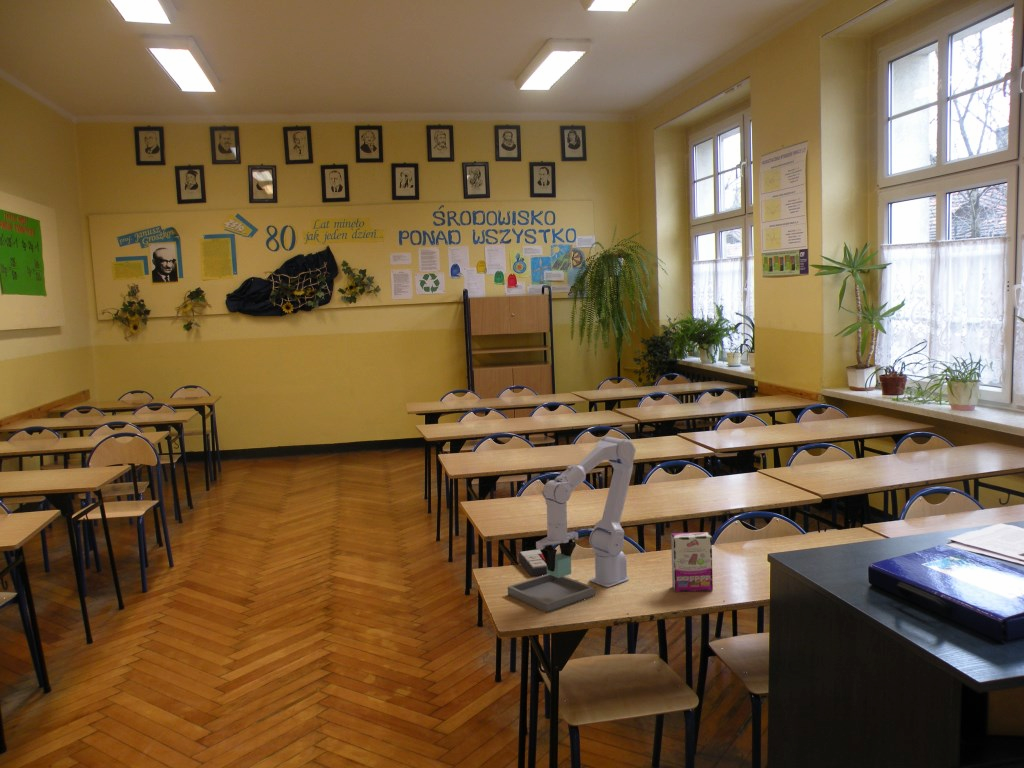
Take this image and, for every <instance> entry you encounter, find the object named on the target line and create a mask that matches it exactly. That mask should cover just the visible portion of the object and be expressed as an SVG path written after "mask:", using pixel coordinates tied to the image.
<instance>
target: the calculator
mask: <svg viewBox="0 0 1024 768" xmlns="http://www.w3.org/2000/svg"><path fill="white" fill-rule="evenodd" d="M518 564H519V565H521V566H522V567H523V568H524V570H525V571H526V572H527V573H528V574H529V576H531V577H532V578H535V577H534V576H536V577H540V576H541V575H546V574H547V565H546V561H545V559H544V556H543V554H542V552H541V551H540V550H539V549H531V550H525V551H519V552H518Z"/></svg>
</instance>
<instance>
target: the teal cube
mask: <svg viewBox="0 0 1024 768" xmlns="http://www.w3.org/2000/svg"><path fill="white" fill-rule="evenodd" d="M547 574H549V575H552V576H554V577H557V578H560V577H563V576H565V577H567V576H569V575H571V574H572V556H571V557H569V556H566V555H564V554H561V552H556V555H555V569H554V571H553V572H552V571H549V570H548V568H547Z"/></svg>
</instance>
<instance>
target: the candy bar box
mask: <svg viewBox="0 0 1024 768" xmlns="http://www.w3.org/2000/svg"><path fill="white" fill-rule="evenodd" d="M670 539H671V540H670V541H671V543H670V544H671V574H672V575H671V576H672V577H671V581H672V583H671V584H672V588H673V590H674V591H675V593H688V592H690V593H691V592H709V591H711V592H712V591H713V590H714V589H713V586H714V585H713V584H714V583H713V577H714V576H713V538H712V535H711V534H710V533H709V532H708V531H705V532H704V531H702V532H679V533H678V532H677V533H676V532H675V533H671V534H670Z"/></svg>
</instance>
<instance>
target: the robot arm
mask: <svg viewBox="0 0 1024 768" xmlns="http://www.w3.org/2000/svg"><path fill="white" fill-rule="evenodd" d="M635 454H636V447H635V446H634V444H633V442H632V441H631V440H630V439H623V438H617V437H613V436H609V435H606V436H603V437H602V438H601V439H600V440H598V441H597V443H596V447H594V448H593V449H592V450H591V451H590V452H589V454H587V455H586V457H584V458H583V460H582V461H580V462H579V464H571V465H568V466H567V467H566V469H565V470H564V471H563V472H562V473H560V474H559V475H557V476H556V477H555V479H552V480H548V481H547V482H546V483H545V484H544V485H543V489H542V490H541V494H542V497H543V498H544V500H545V501H544V502H545V505H546V525H547V526H546V528H547V529H546V530H547V534H546V535H547V536H546V537H544V538H541V539H540V540H538V541H535V547H536V548H535V549H536V550H538V549H539V550H540V551H541V552H542V554H543V556H544V559H545V561H546V565H547V568H548V570H549V571H552V572H553V571H554V569H555V555H556V554H557V553H558V552H557V551H558V550H557V549H556V548H554V547H553V546H556V545H558V546H559V550H560V553H561V554H564V555H566V556H569V557H571V558H572V554H573V552H574V550H575V548H576V546H577V543H576V542H575V541H574V540H576V541H577V540H579V533H578V532H577V531H569V532H568V510H567V509H568V508H567V502H568V501H569V500H570V498H571V496H572V493H573V491H574V490H575V489H576V488H578V486H580V485H581V484H582V483H583V482H584V481H585V480H586V478H587V477H586V475H587V474H588V472H590V471H592V470H593V469H594V468H595V467H597V466H598V465H600V464H601V463H602V462H603V461H608V462H609V463H610V466H612V469H613V472H612V476H611V481H610V485H609V489H608V492H607V497H606V501H605V505H604V509H603V514H602V517H601V519H600V520H598V521H596V522H595V524H594V527H593V530H592V531H591V532H590V535H589V536H588V537H589V539H588V540H589V541H588V542H589V545H590V547H591V548H593V552H594V569H595V570H594V577H592V578H589V579H588V580H589V582H592V583H595V584H597V585H599V586H603V587H604V588H610V587H613V586H616V585H618V584H621V583H624V582H627V581H629V580H630V578H628V577H627V576H628V572H627V571H628V569H627V568H628V567H627V562H628V561H627V557H626V554H625V553H624V552H623V549H624V546H625V540H624V537H625V531H624V529H623V528H622V525H621V520H622V515H623V511H624V506H625V503H626V498H627V495H628V490H629V486H630V481H631V477H632V475H633V470H634V459H635Z"/></svg>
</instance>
